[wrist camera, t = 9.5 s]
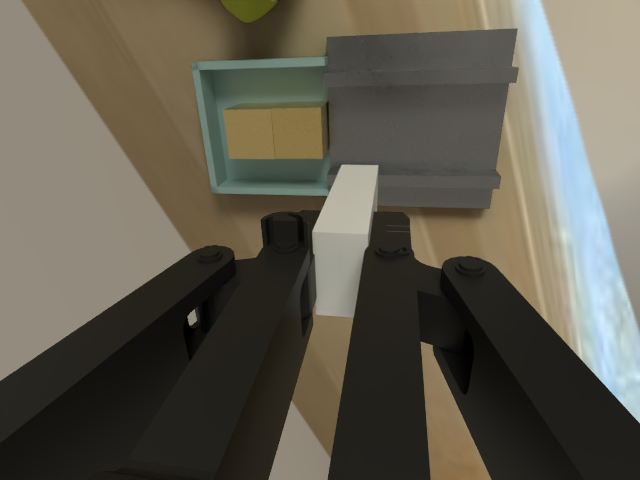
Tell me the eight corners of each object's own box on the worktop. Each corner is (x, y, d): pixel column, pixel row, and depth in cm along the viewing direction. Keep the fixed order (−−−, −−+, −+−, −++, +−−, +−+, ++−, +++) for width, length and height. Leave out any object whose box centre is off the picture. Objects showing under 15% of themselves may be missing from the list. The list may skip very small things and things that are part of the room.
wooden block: (239, 103, 36) (222, 109, 33) (283, 102, 35) (270, 109, 32) (245, 147, 38) (229, 158, 34) (286, 148, 37) (275, 159, 34)
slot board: (329, 37, 33) (322, 36, 30) (512, 29, 31) (525, 27, 28) (333, 199, 39) (328, 212, 36) (486, 202, 37) (494, 217, 34)
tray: (206, 60, 36) (190, 62, 33) (330, 56, 34) (324, 57, 31) (224, 183, 40) (211, 193, 38) (333, 185, 39) (328, 195, 36)
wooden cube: (283, 101, 35) (270, 108, 32) (328, 100, 35) (320, 107, 31) (287, 147, 37) (275, 158, 34) (329, 147, 37) (322, 158, 33)
